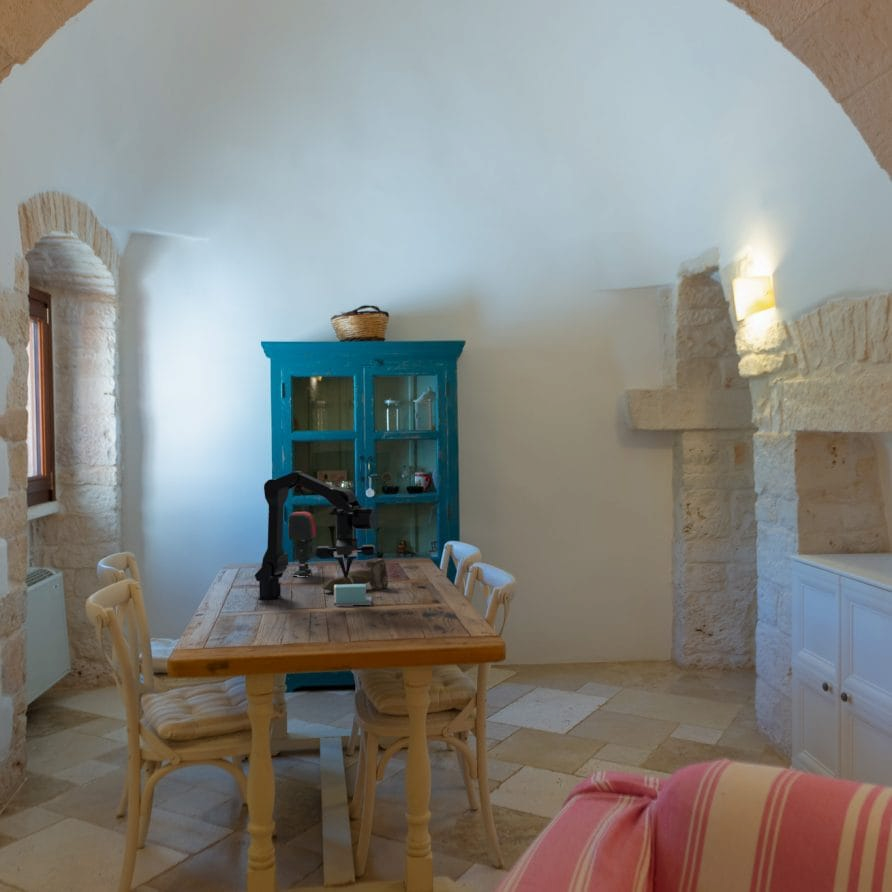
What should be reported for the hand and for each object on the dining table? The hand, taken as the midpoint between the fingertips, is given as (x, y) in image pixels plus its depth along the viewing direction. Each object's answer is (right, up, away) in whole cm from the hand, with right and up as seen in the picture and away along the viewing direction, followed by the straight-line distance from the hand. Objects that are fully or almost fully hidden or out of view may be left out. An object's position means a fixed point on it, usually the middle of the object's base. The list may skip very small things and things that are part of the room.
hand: (345, 577), depth 269 cm
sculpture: (0, -8, +21) cm, 23 cm away
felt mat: (+3, -8, 0) cm, 8 cm away
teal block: (-4, -5, 0) cm, 6 cm away
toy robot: (-23, -8, +54) cm, 59 cm away
